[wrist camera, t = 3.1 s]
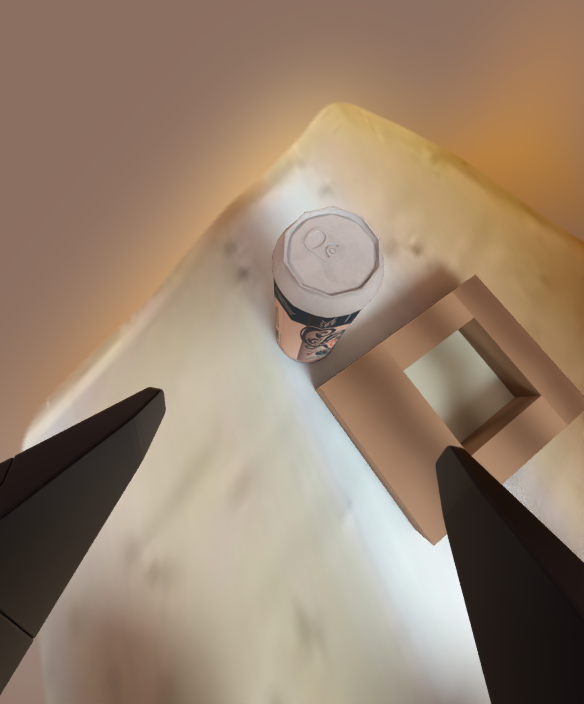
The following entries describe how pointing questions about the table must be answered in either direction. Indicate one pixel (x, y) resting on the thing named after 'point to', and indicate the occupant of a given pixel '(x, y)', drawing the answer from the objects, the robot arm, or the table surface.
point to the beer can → (323, 279)
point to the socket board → (451, 399)
